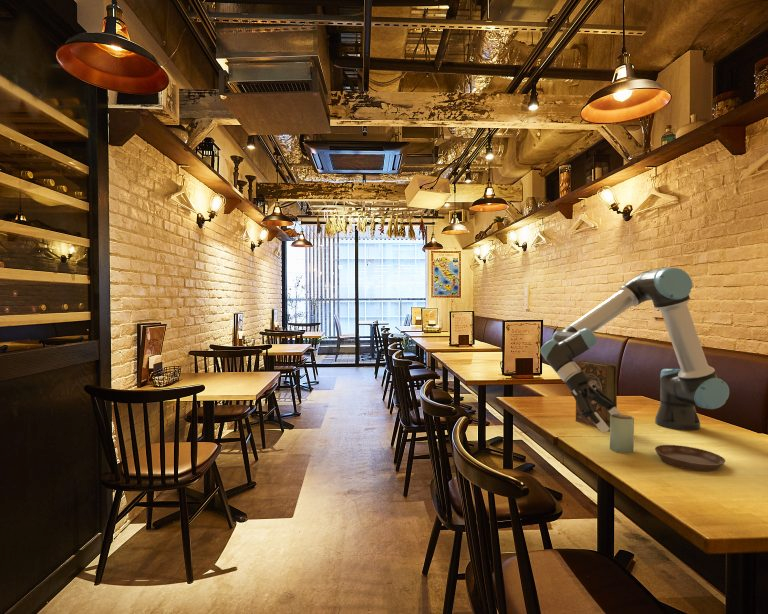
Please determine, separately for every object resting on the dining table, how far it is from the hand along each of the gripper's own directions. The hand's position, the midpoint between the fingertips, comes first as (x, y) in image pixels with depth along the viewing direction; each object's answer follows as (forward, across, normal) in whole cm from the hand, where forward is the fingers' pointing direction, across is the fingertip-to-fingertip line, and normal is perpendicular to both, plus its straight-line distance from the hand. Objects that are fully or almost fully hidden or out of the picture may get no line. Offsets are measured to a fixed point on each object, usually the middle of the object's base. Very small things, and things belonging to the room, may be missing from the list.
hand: (616, 428), depth 146 cm
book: (-9, -26, -19) cm, 33 cm away
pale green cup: (+6, -1, -4) cm, 7 cm away
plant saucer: (+19, -5, +8) cm, 21 cm away
